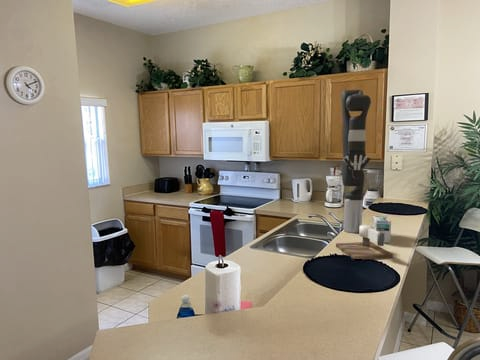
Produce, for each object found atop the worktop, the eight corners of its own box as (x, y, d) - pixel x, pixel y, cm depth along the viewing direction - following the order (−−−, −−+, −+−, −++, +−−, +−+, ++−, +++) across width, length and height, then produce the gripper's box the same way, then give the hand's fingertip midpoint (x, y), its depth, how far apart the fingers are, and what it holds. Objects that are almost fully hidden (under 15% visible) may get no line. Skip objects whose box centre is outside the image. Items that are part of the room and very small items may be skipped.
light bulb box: (390, 243, 163) (391, 221, 162) (375, 242, 165) (376, 220, 163) (385, 237, 174) (386, 216, 172) (371, 236, 175) (372, 215, 174)
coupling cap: (356, 235, 157) (357, 224, 157) (369, 234, 158) (369, 223, 158) (375, 246, 141) (375, 234, 140) (389, 245, 142) (389, 233, 141)
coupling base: (335, 246, 159) (336, 234, 158) (370, 244, 161) (371, 233, 160) (353, 259, 141) (354, 246, 140) (392, 257, 143) (393, 244, 143)
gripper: (346, 140, 153) (344, 179, 155) (374, 140, 154) (373, 178, 156) (339, 140, 161) (338, 177, 163) (367, 140, 162) (365, 177, 164)
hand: (355, 178), depth 159 cm, fingers closed
